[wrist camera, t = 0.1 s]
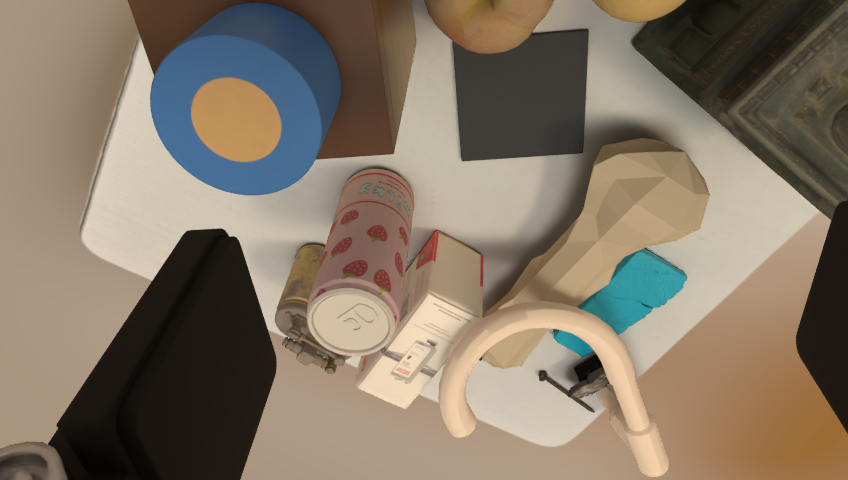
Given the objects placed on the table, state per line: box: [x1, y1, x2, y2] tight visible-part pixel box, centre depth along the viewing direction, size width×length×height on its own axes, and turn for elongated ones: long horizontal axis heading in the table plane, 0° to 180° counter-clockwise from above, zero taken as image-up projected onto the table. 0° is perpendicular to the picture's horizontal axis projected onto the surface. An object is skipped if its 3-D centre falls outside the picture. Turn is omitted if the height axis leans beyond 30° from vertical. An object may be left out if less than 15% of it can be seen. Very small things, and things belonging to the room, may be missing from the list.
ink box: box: [355, 231, 483, 409], centre depth 51 cm, size 9×5×12 cm
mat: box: [453, 29, 589, 161], centre depth 44 cm, size 9×9×1 cm
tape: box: [150, 3, 341, 195], centre depth 25 cm, size 6×6×5 cm
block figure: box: [567, 355, 609, 398], centre depth 58 cm, size 6×2×6 cm
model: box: [632, 0, 848, 220], centre depth 36 cm, size 14×9×15 cm, turn 56°
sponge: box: [554, 249, 687, 357], centre depth 54 cm, size 2×12×6 cm
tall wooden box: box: [128, 0, 416, 159], centre depth 34 cm, size 8×10×17 cm
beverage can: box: [307, 169, 414, 356], centre depth 43 cm, size 6×6×15 cm
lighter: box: [275, 245, 352, 374], centre depth 50 cm, size 7×4×10 cm, turn 52°
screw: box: [539, 372, 595, 413], centre depth 61 cm, size 8×1×1 cm, turn 48°
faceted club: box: [479, 138, 710, 369], centre depth 48 cm, size 9×8×25 cm
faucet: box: [439, 301, 669, 477], centre depth 52 cm, size 8×15×24 cm
